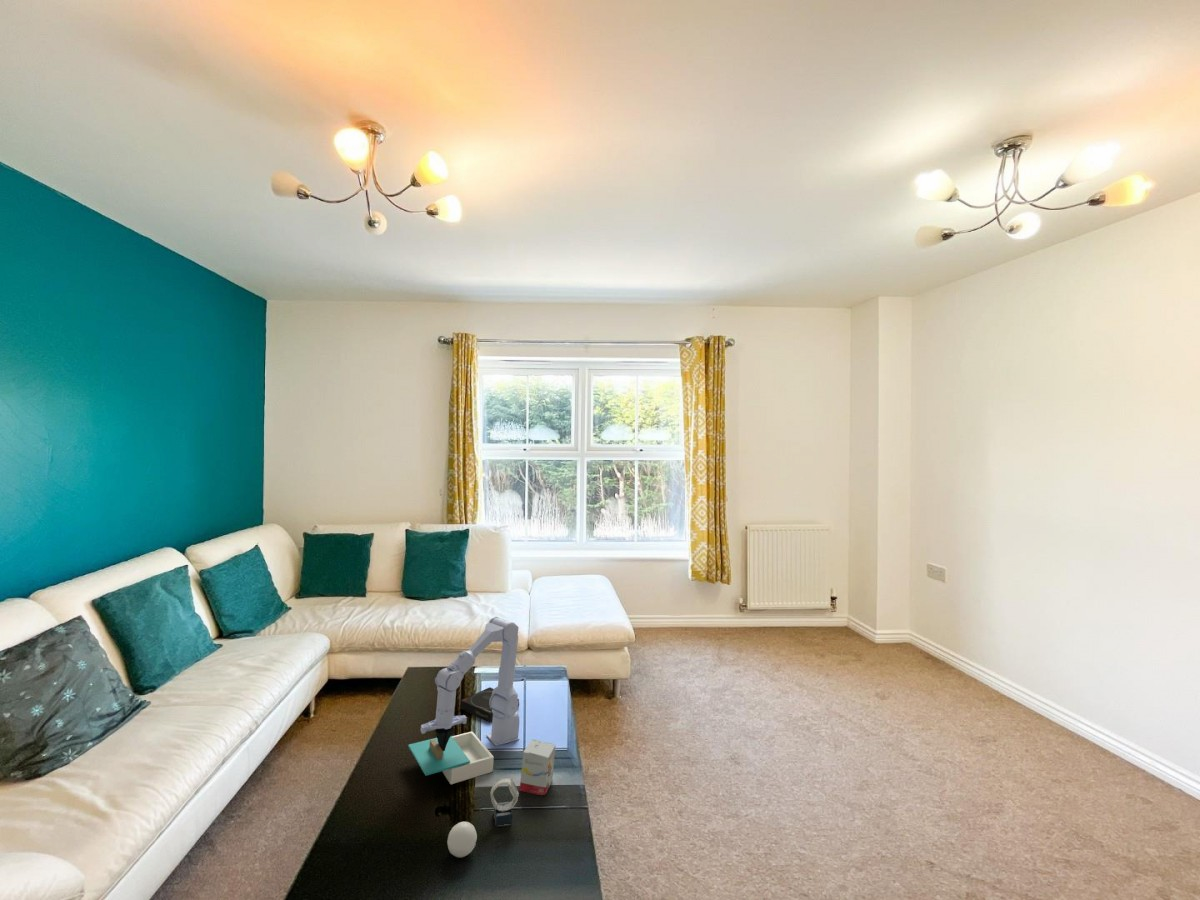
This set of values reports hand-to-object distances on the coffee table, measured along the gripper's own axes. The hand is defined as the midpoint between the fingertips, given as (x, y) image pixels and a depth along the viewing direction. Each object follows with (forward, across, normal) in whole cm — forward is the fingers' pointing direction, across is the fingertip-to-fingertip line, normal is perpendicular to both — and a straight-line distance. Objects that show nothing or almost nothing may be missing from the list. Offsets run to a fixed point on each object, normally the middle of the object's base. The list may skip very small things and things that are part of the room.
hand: (441, 749), depth 166 cm
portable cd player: (+7, +31, +31) cm, 45 cm away
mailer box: (+6, +7, 0) cm, 10 cm away
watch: (+6, +7, -31) cm, 33 cm away
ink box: (+6, +23, -22) cm, 33 cm away
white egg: (+6, -7, -36) cm, 37 cm away
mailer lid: (+1, -1, 0) cm, 2 cm away
